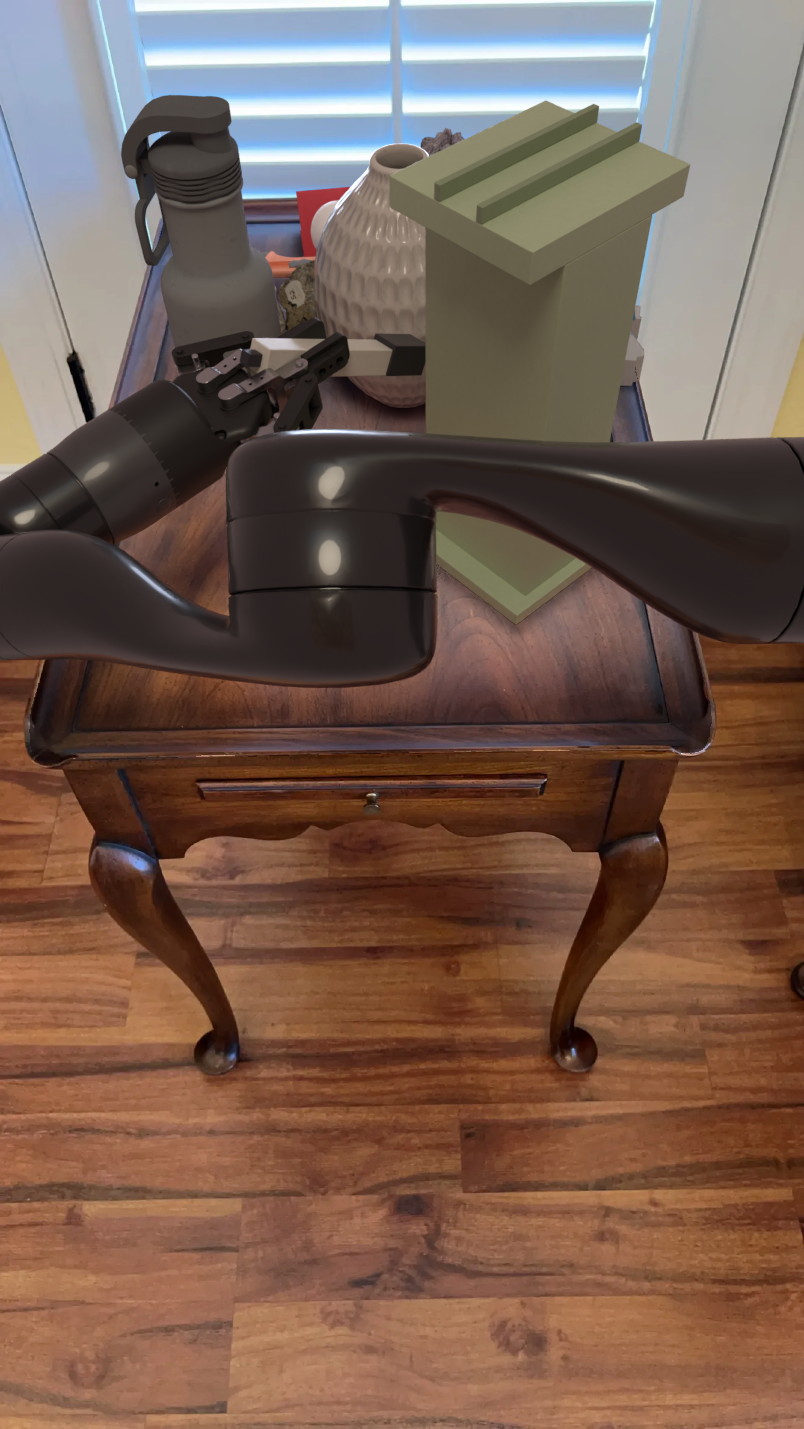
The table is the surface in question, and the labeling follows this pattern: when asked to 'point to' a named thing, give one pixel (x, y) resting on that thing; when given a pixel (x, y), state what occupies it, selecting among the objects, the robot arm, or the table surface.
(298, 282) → the rock
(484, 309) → the green railed pedestal
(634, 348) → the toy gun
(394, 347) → the marker
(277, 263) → the utility knife
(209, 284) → the water bottle
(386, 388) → the vase
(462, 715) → the table surface
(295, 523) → the robot arm
